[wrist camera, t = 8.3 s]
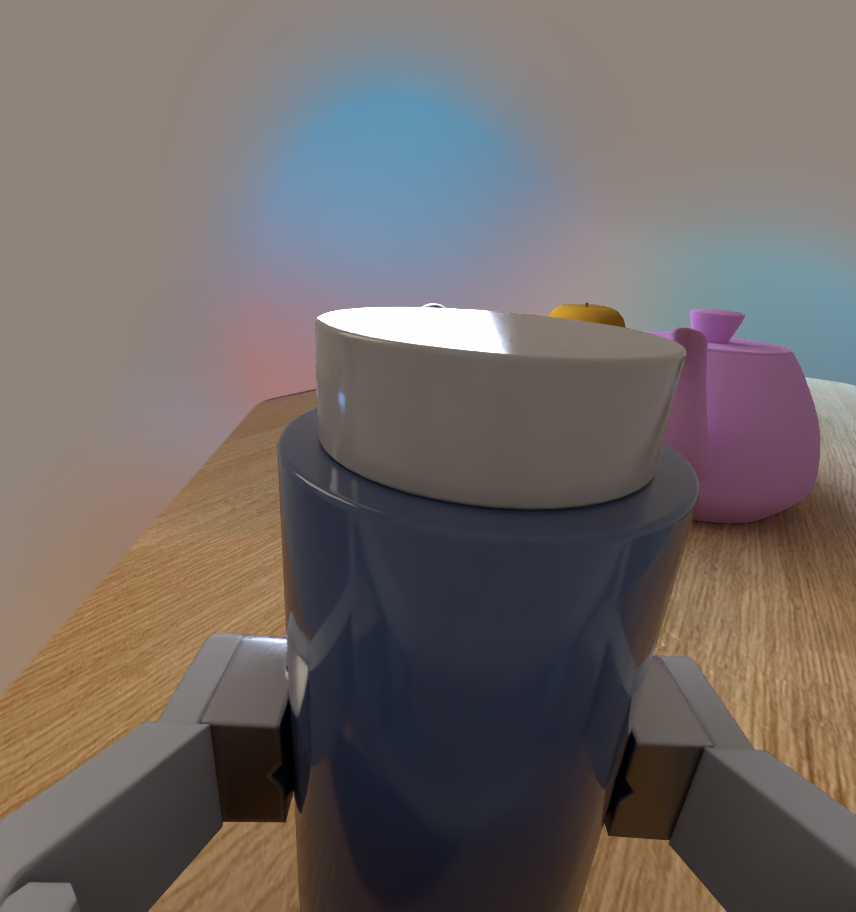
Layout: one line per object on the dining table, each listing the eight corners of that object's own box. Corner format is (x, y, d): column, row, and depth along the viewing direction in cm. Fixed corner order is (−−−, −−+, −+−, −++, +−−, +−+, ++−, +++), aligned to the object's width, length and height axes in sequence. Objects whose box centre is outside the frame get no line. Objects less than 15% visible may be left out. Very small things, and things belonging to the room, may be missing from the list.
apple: (522, 375, 78) (531, 299, 74) (555, 365, 88) (565, 298, 84) (602, 390, 71) (618, 308, 67) (628, 378, 81) (643, 305, 77)
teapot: (603, 426, 55) (628, 296, 50) (796, 467, 46) (851, 314, 41) (506, 507, 35) (533, 304, 30) (814, 607, 26) (923, 343, 21)
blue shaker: (255, 990, 9) (177, 307, 5) (413, 810, 12) (453, 301, 8) (440, 1287, 7) (644, 410, 2) (578, 964, 10) (773, 341, 5)
